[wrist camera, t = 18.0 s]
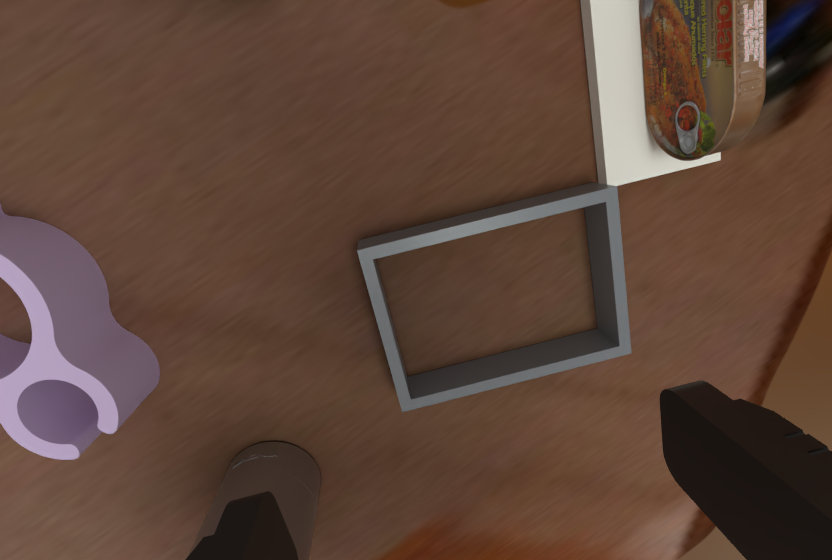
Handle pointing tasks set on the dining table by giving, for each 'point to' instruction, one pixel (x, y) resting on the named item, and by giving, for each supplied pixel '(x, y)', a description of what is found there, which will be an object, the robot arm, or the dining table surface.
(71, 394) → the clip
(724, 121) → the tin
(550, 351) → the bin
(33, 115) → the dining table surface
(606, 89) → the cream board
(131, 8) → the dining table surface
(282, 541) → the robot arm
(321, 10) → the dining table surface
